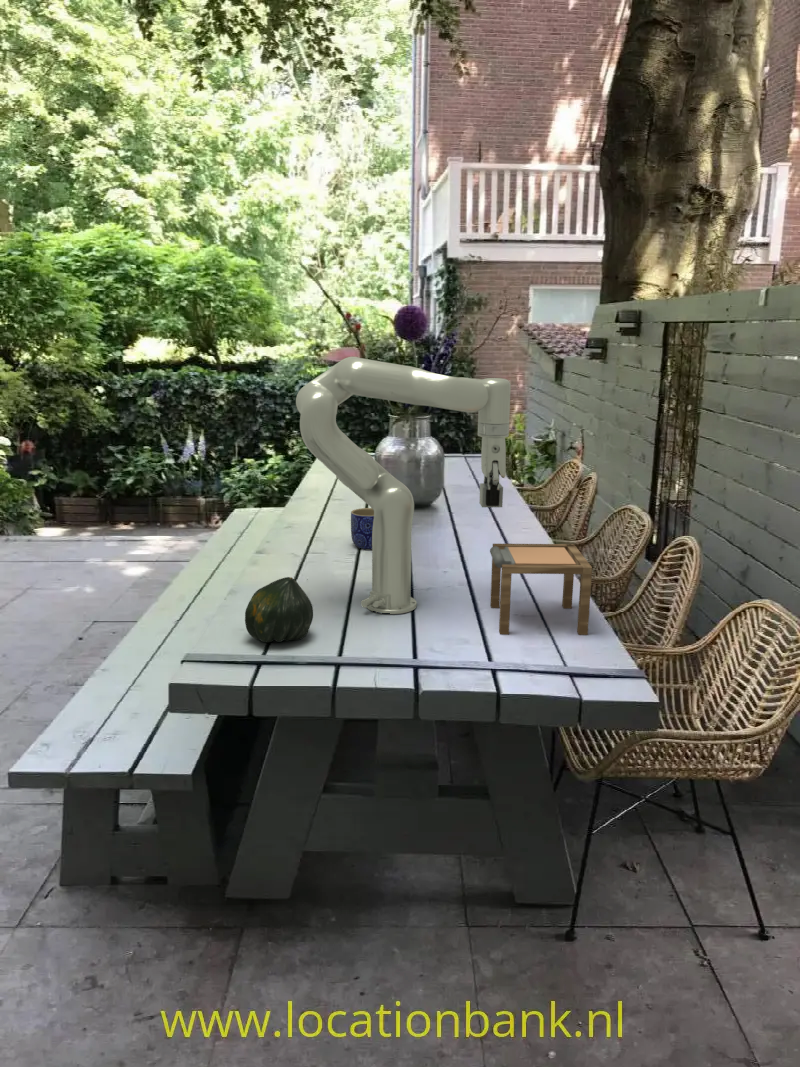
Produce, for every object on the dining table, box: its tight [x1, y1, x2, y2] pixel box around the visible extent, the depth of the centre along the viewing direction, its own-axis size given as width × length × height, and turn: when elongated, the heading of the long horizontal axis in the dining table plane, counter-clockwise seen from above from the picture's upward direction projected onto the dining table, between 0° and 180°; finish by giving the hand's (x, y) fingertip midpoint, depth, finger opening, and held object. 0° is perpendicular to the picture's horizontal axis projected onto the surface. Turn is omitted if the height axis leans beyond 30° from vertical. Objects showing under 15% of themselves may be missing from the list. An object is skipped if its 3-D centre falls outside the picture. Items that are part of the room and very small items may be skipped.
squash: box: [244, 576, 314, 643], centre depth 192 cm, size 14×15×15 cm
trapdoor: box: [489, 546, 576, 569], centre depth 203 cm, size 14×18×2 cm
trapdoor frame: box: [490, 543, 593, 636], centre depth 205 cm, size 20×20×16 cm
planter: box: [350, 507, 374, 550], centre depth 267 cm, size 11×11×11 cm
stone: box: [479, 482, 504, 508], centre depth 214 cm, size 5×5×5 cm
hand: (490, 502), depth 214 cm, fingers closed on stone, 5 cm apart
